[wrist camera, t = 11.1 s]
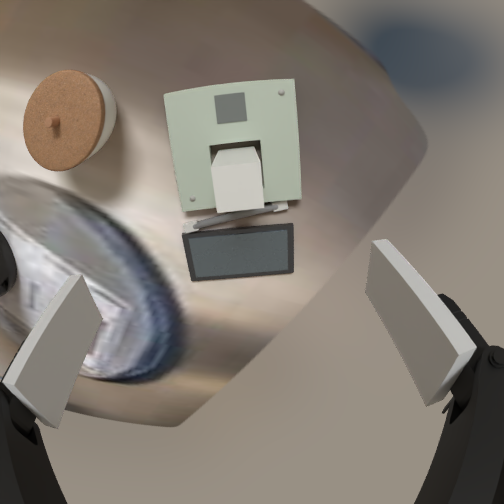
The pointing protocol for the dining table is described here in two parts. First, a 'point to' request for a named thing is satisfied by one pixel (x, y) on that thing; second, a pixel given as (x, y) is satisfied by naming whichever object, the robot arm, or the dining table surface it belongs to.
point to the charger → (237, 180)
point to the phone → (240, 251)
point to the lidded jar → (68, 119)
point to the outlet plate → (234, 136)
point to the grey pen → (234, 216)
